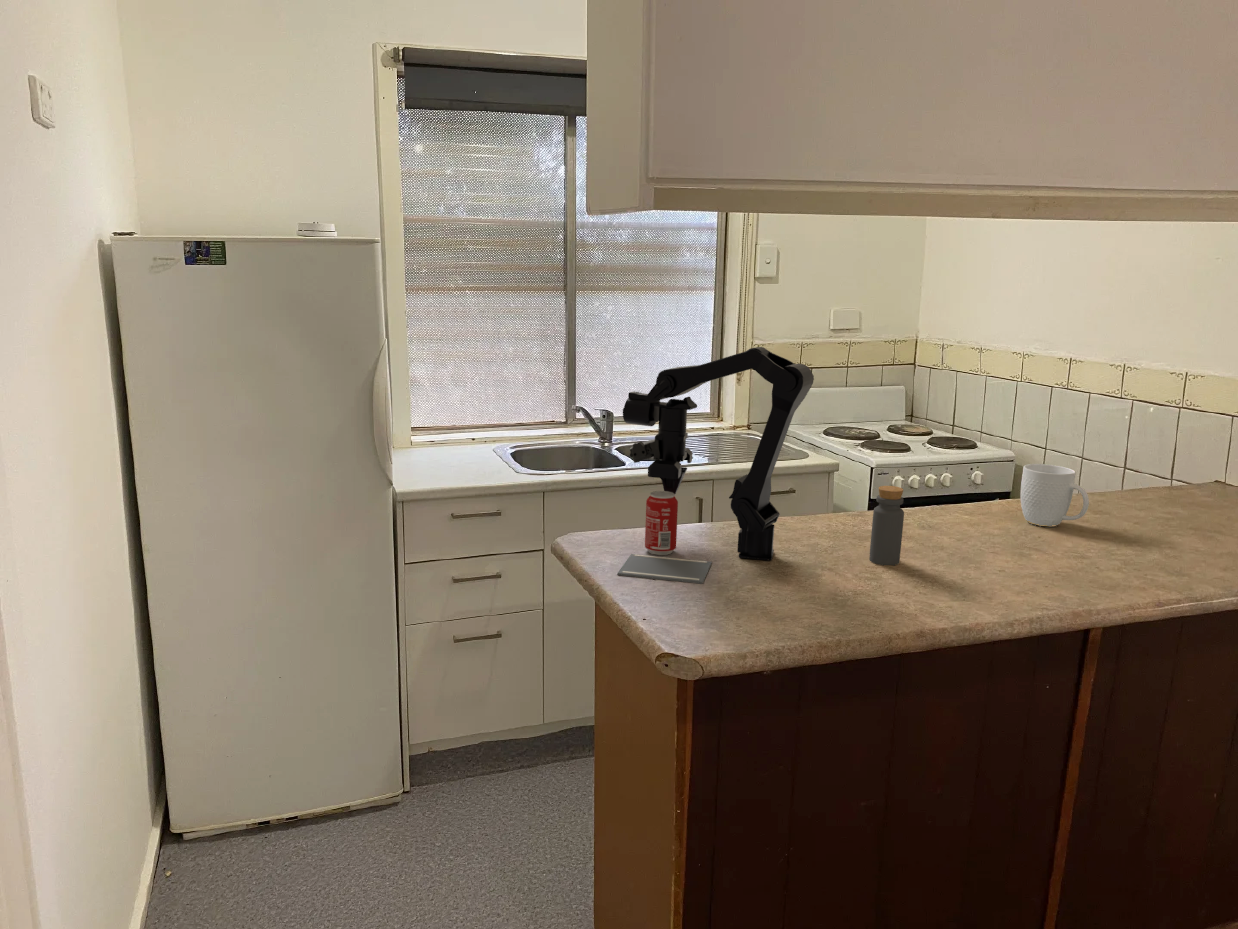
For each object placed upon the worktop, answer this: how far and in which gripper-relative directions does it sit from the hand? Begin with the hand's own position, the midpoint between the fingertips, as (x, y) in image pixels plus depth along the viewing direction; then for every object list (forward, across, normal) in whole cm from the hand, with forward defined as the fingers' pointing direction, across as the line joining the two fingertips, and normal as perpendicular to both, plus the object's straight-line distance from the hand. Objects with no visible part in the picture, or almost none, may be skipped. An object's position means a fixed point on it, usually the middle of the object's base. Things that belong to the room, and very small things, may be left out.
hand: (669, 502), depth 196 cm
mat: (+8, +19, +3) cm, 21 cm away
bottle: (+8, +1, +44) cm, 45 cm away
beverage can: (+8, +9, 0) cm, 12 cm away
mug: (+8, -39, +82) cm, 91 cm away
